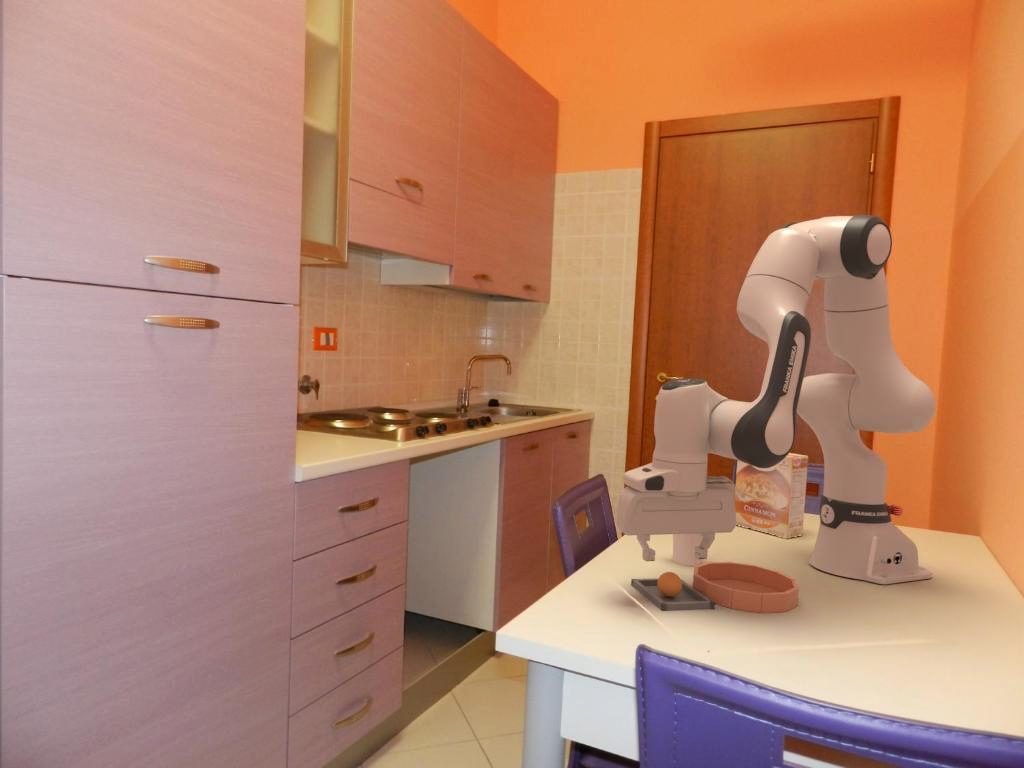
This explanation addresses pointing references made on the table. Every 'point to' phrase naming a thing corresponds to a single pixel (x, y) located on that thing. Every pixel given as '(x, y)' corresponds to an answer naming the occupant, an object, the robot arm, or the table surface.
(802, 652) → the table surface
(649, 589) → the tray
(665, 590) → the ball
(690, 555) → the drinking glass
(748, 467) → the coffeecake box
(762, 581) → the bowl
